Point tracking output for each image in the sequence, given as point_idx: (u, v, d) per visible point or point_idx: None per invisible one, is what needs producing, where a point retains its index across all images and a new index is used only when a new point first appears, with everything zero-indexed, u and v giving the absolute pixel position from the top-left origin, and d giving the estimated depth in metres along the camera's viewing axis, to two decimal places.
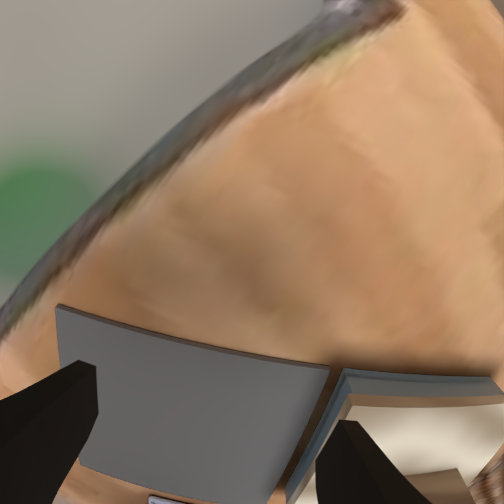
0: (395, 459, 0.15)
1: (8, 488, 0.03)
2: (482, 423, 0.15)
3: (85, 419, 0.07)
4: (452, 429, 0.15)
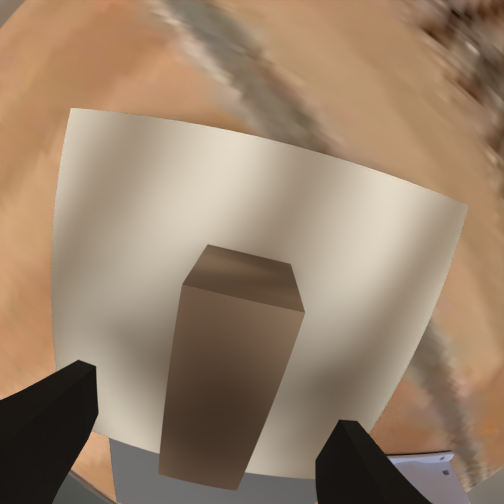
0: (138, 382, 0.13)
1: (8, 488, 0.03)
2: (85, 242, 0.12)
3: (85, 419, 0.07)
4: (87, 308, 0.12)
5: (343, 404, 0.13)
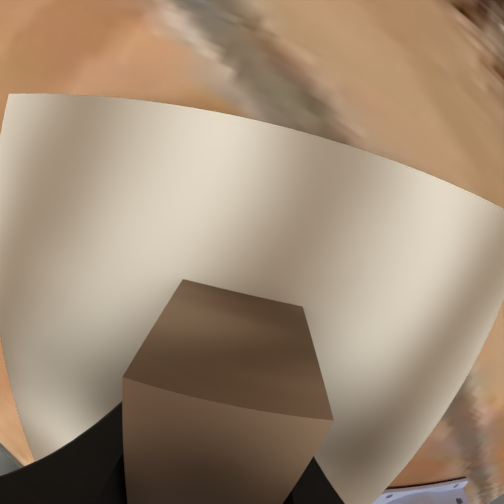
0: None
1: None
2: (27, 271, 0.08)
3: None
4: (39, 351, 0.09)
5: (360, 463, 0.10)
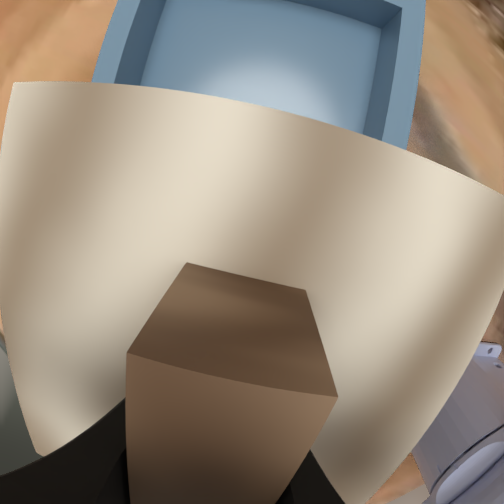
0: None
1: None
2: (31, 257, 0.08)
3: None
4: (41, 338, 0.09)
5: (363, 452, 0.10)
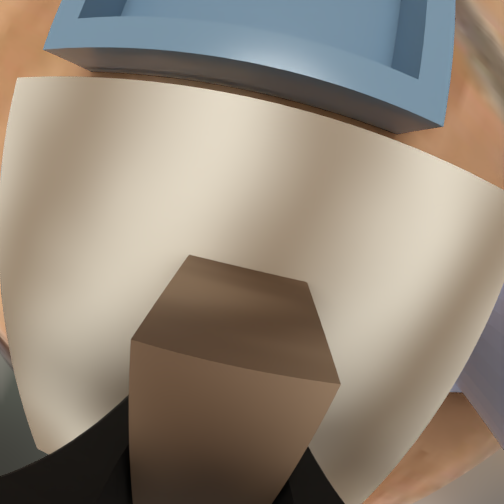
0: None
1: None
2: (33, 251, 0.08)
3: None
4: (43, 332, 0.09)
5: (364, 446, 0.10)
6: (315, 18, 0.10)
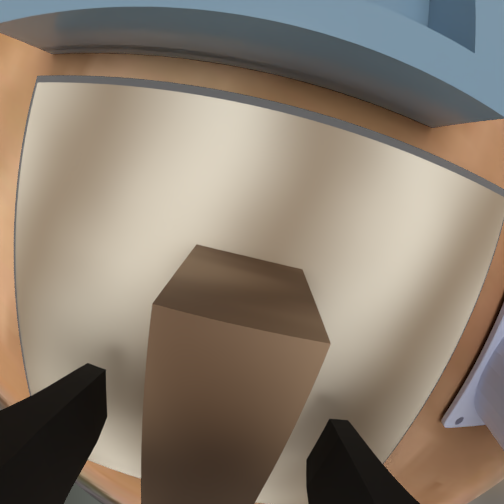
0: (118, 406, 0.11)
1: (20, 495, 0.03)
2: (50, 242, 0.09)
3: (94, 423, 0.07)
4: (56, 320, 0.10)
5: (359, 431, 0.11)
6: None
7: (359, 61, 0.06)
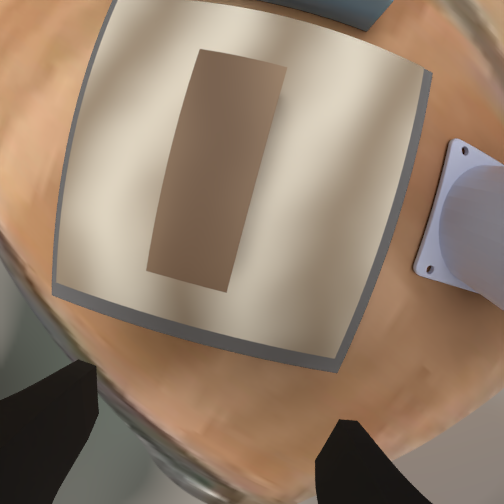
0: (138, 214, 0.15)
1: (8, 488, 0.03)
2: (115, 85, 0.13)
3: (85, 419, 0.07)
4: (105, 141, 0.14)
5: (334, 240, 0.15)
6: None
7: None
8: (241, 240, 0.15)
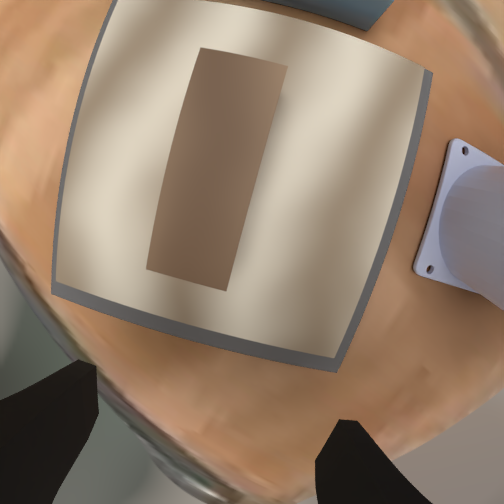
0: (138, 213, 0.15)
1: (8, 488, 0.03)
2: (115, 83, 0.13)
3: (85, 419, 0.07)
4: (105, 139, 0.14)
5: (334, 240, 0.15)
6: None
7: None
8: (241, 239, 0.15)
